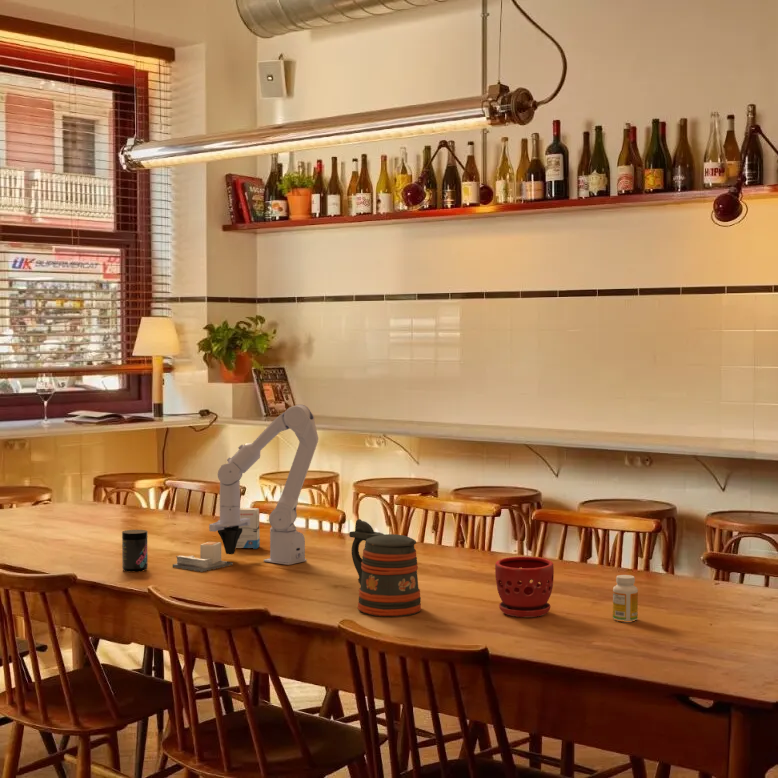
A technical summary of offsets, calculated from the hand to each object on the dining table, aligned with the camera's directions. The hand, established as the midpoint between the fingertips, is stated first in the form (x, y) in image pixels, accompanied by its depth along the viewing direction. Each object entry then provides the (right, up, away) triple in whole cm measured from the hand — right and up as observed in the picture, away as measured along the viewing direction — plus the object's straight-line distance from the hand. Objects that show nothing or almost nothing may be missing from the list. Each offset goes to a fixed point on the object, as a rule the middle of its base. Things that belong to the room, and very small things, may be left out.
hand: (230, 553), depth 331 cm
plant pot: (+75, -5, -65) cm, 99 cm away
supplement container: (-24, -3, -14) cm, 28 cm away
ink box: (+2, -1, +21) cm, 21 cm away
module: (-4, -1, -6) cm, 8 cm away
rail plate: (-6, -2, -9) cm, 11 cm away
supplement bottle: (+97, -5, -70) cm, 120 cm away
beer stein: (+43, -5, -60) cm, 74 cm away
